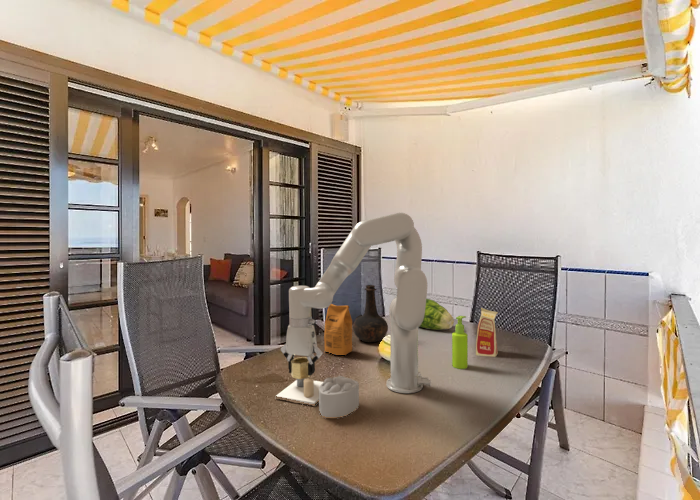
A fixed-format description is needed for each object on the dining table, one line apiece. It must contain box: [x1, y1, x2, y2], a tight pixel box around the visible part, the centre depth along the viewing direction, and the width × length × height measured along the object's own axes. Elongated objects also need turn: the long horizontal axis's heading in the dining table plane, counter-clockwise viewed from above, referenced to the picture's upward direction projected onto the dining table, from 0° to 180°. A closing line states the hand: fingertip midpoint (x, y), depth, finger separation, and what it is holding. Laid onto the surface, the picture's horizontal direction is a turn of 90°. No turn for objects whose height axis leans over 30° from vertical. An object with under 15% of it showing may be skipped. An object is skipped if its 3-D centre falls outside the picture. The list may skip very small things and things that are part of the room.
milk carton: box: [475, 307, 499, 358], centre depth 155 cm, size 9×9×20 cm
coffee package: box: [323, 303, 353, 356], centre depth 158 cm, size 10×12×22 cm
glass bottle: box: [352, 284, 389, 343], centre depth 177 cm, size 18×18×28 cm
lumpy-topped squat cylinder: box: [318, 375, 360, 417], centre depth 107 cm, size 10×13×9 cm
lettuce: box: [419, 298, 455, 331], centre depth 196 cm, size 17×23×16 cm
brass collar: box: [290, 356, 311, 380], centre depth 121 cm, size 7×7×5 cm
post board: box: [275, 377, 324, 404], centre depth 118 cm, size 14×15×8 cm
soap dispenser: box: [451, 315, 469, 370], centre depth 140 cm, size 6×7×20 cm
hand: (301, 372), depth 121 cm, fingers closed on brass collar, 6 cm apart
